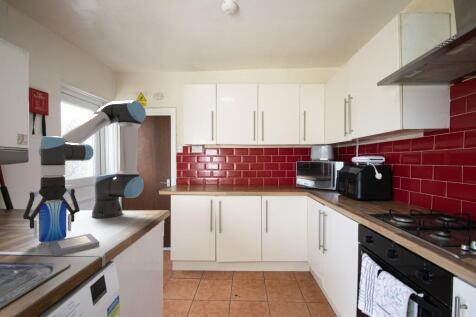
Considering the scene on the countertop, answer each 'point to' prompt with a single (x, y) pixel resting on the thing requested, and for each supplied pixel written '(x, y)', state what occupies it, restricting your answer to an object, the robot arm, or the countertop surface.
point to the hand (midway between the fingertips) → (53, 233)
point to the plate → (73, 244)
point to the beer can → (52, 221)
